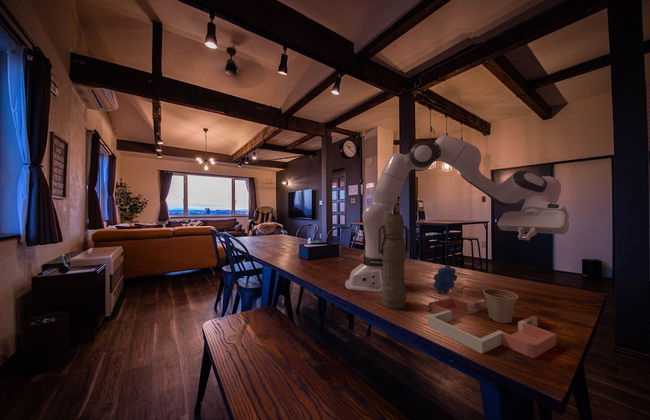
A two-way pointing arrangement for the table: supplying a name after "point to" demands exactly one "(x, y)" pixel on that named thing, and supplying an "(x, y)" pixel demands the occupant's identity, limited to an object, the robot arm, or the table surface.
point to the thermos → (393, 260)
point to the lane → (481, 305)
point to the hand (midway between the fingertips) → (523, 238)
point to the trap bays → (526, 343)
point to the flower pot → (500, 304)
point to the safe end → (464, 333)
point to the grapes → (445, 279)
